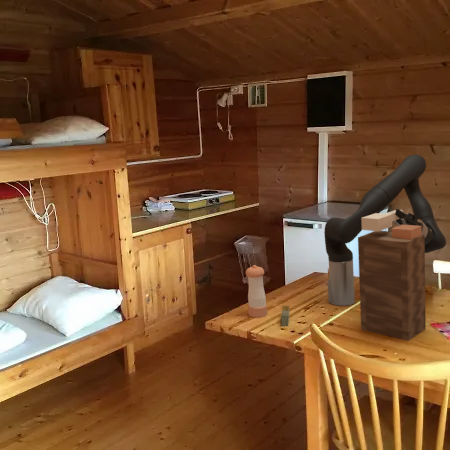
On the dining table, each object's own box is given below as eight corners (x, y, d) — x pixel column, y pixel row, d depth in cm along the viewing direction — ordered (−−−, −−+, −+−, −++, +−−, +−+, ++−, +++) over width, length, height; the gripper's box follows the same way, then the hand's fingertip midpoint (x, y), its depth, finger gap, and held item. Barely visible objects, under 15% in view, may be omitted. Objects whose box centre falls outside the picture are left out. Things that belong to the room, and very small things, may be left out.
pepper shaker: (244, 315, 207) (240, 266, 204) (256, 309, 213) (253, 261, 209) (259, 318, 202) (255, 268, 199) (271, 312, 208) (268, 264, 204)
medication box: (288, 327, 193) (288, 316, 192) (281, 327, 193) (280, 316, 192) (289, 315, 204) (289, 304, 204) (282, 315, 205) (281, 305, 204)
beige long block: (391, 219, 192) (391, 207, 191) (408, 220, 188) (407, 208, 187) (361, 229, 178) (361, 217, 178) (378, 231, 174) (378, 219, 173)
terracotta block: (402, 233, 179) (402, 224, 179) (421, 235, 175) (421, 226, 174) (392, 237, 175) (391, 228, 174) (411, 239, 170) (411, 230, 169)
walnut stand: (379, 318, 193) (376, 230, 187) (425, 328, 181) (424, 234, 175) (361, 329, 185) (357, 237, 179) (408, 340, 173) (406, 242, 167)
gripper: (397, 217, 203) (376, 200, 191) (434, 219, 194) (414, 202, 182) (393, 236, 202) (371, 220, 190) (429, 239, 192) (409, 223, 180)
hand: (392, 211), depth 186 cm, fingers closed on beige long block, 2 cm apart
